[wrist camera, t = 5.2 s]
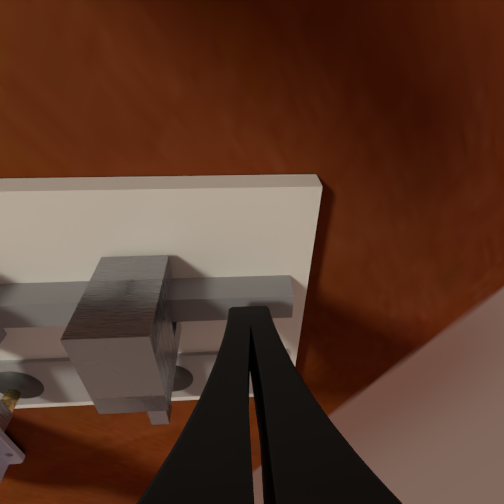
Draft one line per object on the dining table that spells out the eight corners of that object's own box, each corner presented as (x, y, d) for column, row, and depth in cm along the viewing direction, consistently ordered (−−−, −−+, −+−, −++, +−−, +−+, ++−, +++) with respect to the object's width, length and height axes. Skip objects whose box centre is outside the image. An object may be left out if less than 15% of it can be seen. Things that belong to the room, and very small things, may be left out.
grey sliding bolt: (191, 383, 17) (183, 462, 14) (144, 385, 17) (126, 465, 14) (168, 255, 12) (149, 336, 9) (101, 256, 12) (60, 340, 9)
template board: (288, 379, 20) (294, 415, 18) (10, 392, 19) (-12, 431, 17) (316, 174, 12) (331, 203, 10) (-156, 180, 11) (-229, 214, 9)
